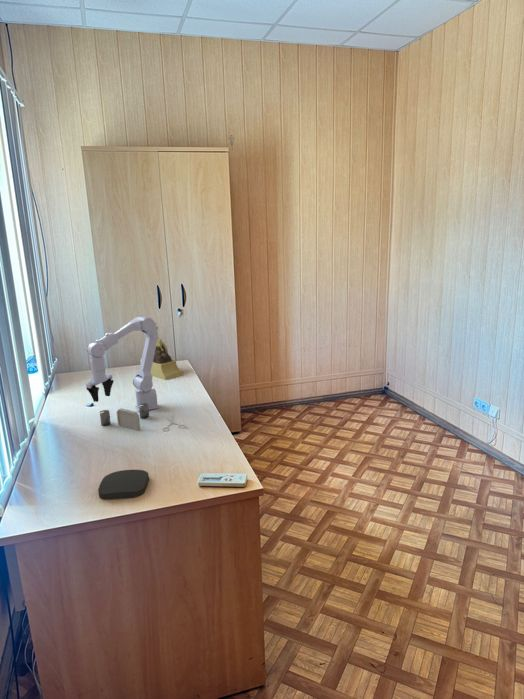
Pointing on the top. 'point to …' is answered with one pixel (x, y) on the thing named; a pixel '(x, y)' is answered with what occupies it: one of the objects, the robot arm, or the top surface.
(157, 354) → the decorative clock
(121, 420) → the light switch
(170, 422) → the scissors
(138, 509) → the top surface
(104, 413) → the post
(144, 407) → the post
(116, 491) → the media streaming box
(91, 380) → the robot arm
